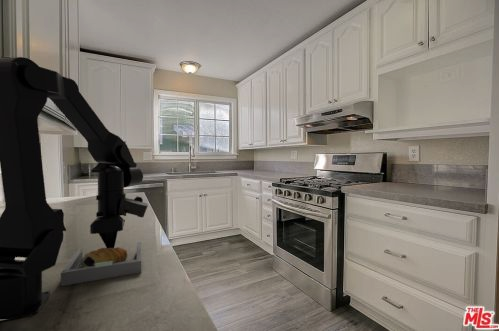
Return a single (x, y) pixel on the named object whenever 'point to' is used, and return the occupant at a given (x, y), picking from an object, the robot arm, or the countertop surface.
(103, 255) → the pastry
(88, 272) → the dock
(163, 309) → the countertop surface
